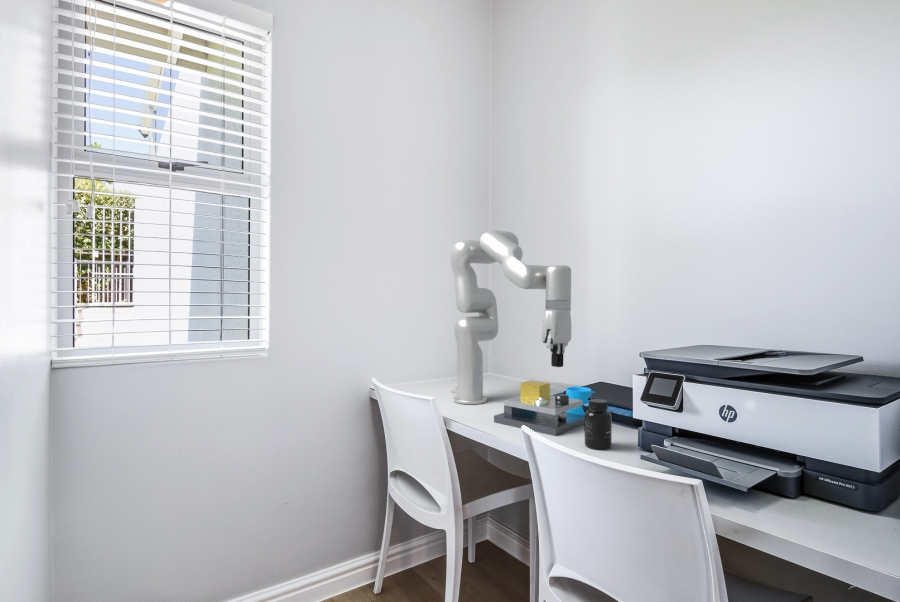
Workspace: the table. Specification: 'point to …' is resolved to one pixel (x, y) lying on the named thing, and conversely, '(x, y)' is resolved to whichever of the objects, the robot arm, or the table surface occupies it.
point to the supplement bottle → (598, 425)
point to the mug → (579, 397)
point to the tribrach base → (540, 420)
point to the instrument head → (542, 399)
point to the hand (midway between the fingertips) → (557, 366)
